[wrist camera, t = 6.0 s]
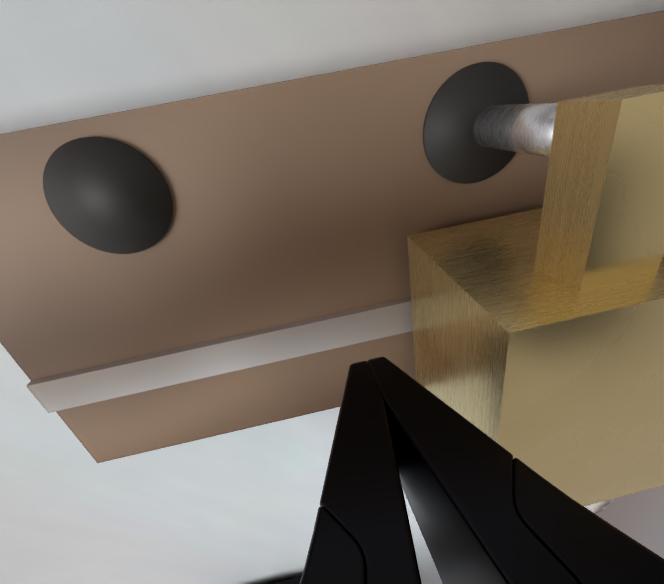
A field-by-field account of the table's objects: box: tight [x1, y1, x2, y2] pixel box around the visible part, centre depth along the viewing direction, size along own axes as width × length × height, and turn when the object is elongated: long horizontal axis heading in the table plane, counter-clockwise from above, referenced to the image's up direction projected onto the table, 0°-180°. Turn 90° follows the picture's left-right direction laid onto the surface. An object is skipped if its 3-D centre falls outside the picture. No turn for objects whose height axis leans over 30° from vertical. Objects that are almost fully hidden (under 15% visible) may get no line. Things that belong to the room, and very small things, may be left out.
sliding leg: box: [407, 84, 664, 506], centre depth 7 cm, size 8×4×4 cm, turn 10°
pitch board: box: [0, 11, 664, 463], centre depth 8 cm, size 9×24×6 cm, turn 100°
